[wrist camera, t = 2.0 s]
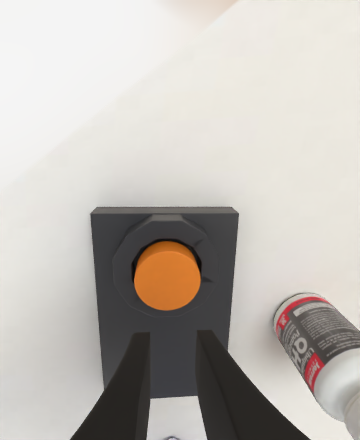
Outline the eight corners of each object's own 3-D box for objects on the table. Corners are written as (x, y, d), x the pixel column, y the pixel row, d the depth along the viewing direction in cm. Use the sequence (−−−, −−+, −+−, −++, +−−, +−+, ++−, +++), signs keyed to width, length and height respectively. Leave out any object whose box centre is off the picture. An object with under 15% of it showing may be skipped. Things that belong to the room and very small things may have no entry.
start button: (195, 294, 18) (199, 309, 17) (137, 296, 18) (135, 312, 16) (197, 240, 17) (202, 250, 15) (135, 241, 17) (133, 251, 15)
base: (219, 375, 24) (229, 412, 21) (108, 381, 24) (100, 421, 20) (231, 206, 20) (246, 219, 17) (96, 207, 19) (83, 220, 16)
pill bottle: (263, 305, 23) (338, 419, 13) (322, 281, 22) (440, 380, 13) (281, 352, 24) (359, 483, 15) (336, 329, 24) (450, 448, 15)
